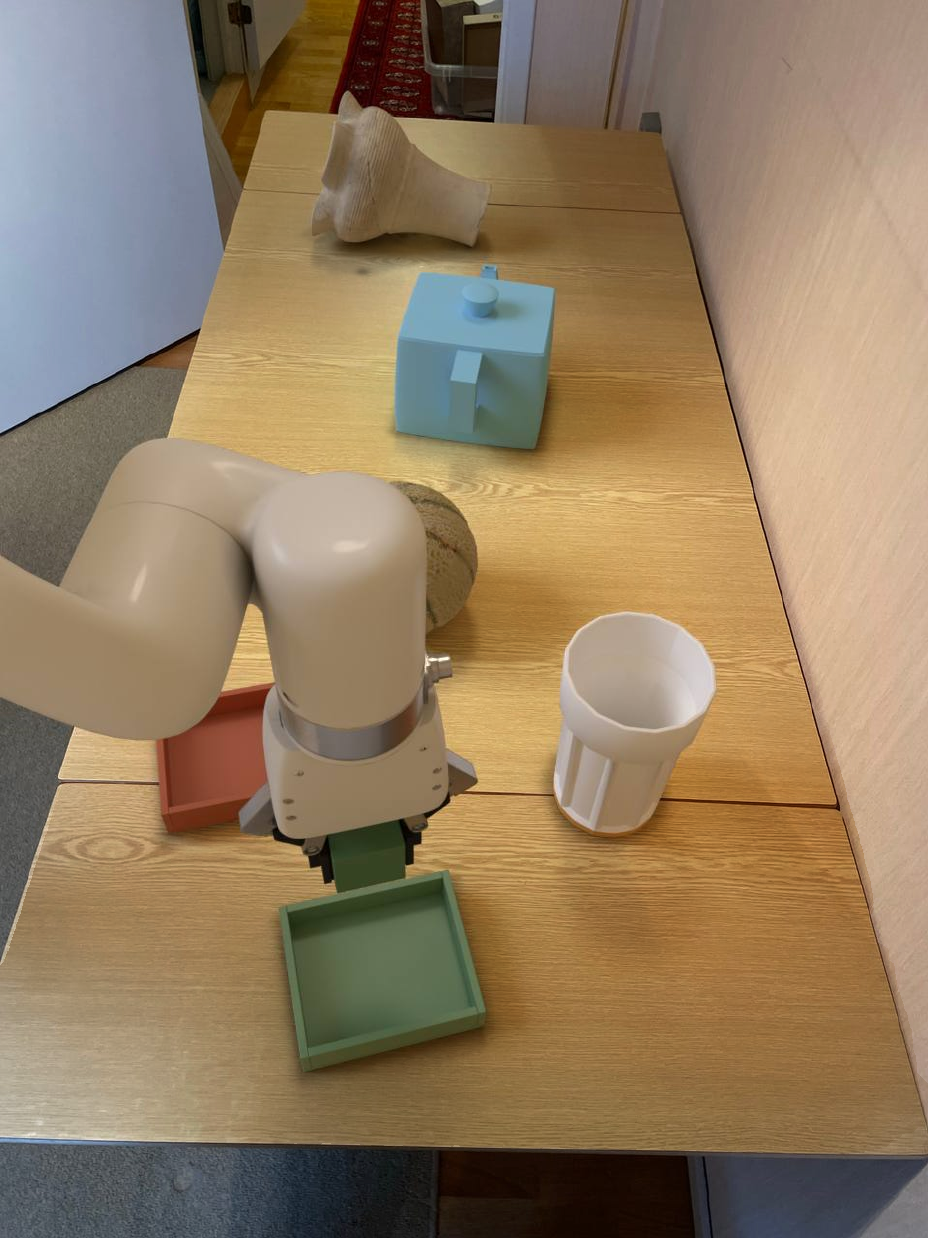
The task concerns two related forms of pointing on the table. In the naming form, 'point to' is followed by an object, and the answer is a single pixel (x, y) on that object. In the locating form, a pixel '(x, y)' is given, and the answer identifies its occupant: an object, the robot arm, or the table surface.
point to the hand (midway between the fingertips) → (364, 852)
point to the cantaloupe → (443, 553)
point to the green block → (367, 856)
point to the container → (474, 359)
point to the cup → (627, 718)
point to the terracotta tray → (214, 762)
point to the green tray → (379, 969)
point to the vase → (391, 184)
